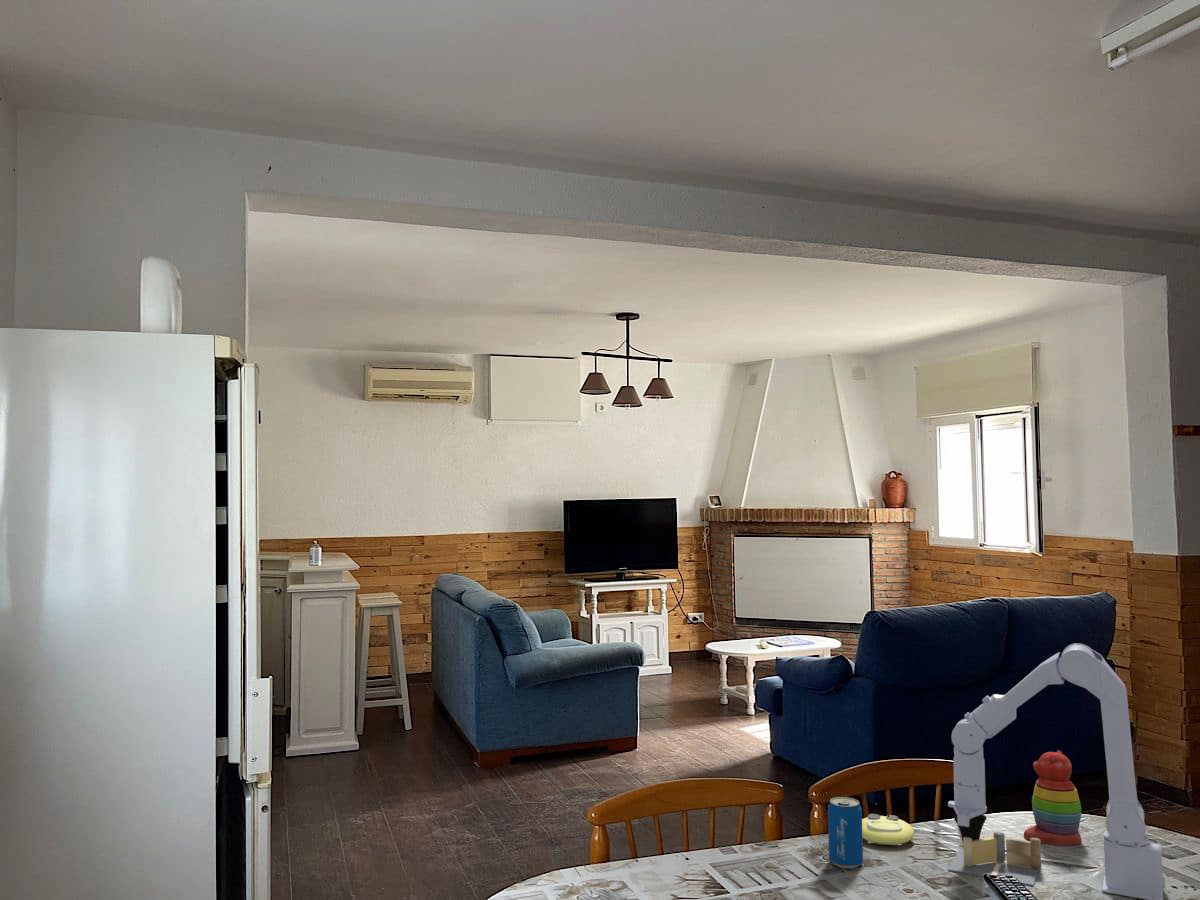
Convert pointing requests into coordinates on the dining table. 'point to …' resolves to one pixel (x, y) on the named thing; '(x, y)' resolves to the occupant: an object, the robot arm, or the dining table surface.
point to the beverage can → (845, 832)
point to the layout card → (994, 869)
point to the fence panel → (984, 849)
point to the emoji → (886, 830)
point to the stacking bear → (1055, 802)
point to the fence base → (1024, 853)
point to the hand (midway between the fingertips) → (970, 853)
